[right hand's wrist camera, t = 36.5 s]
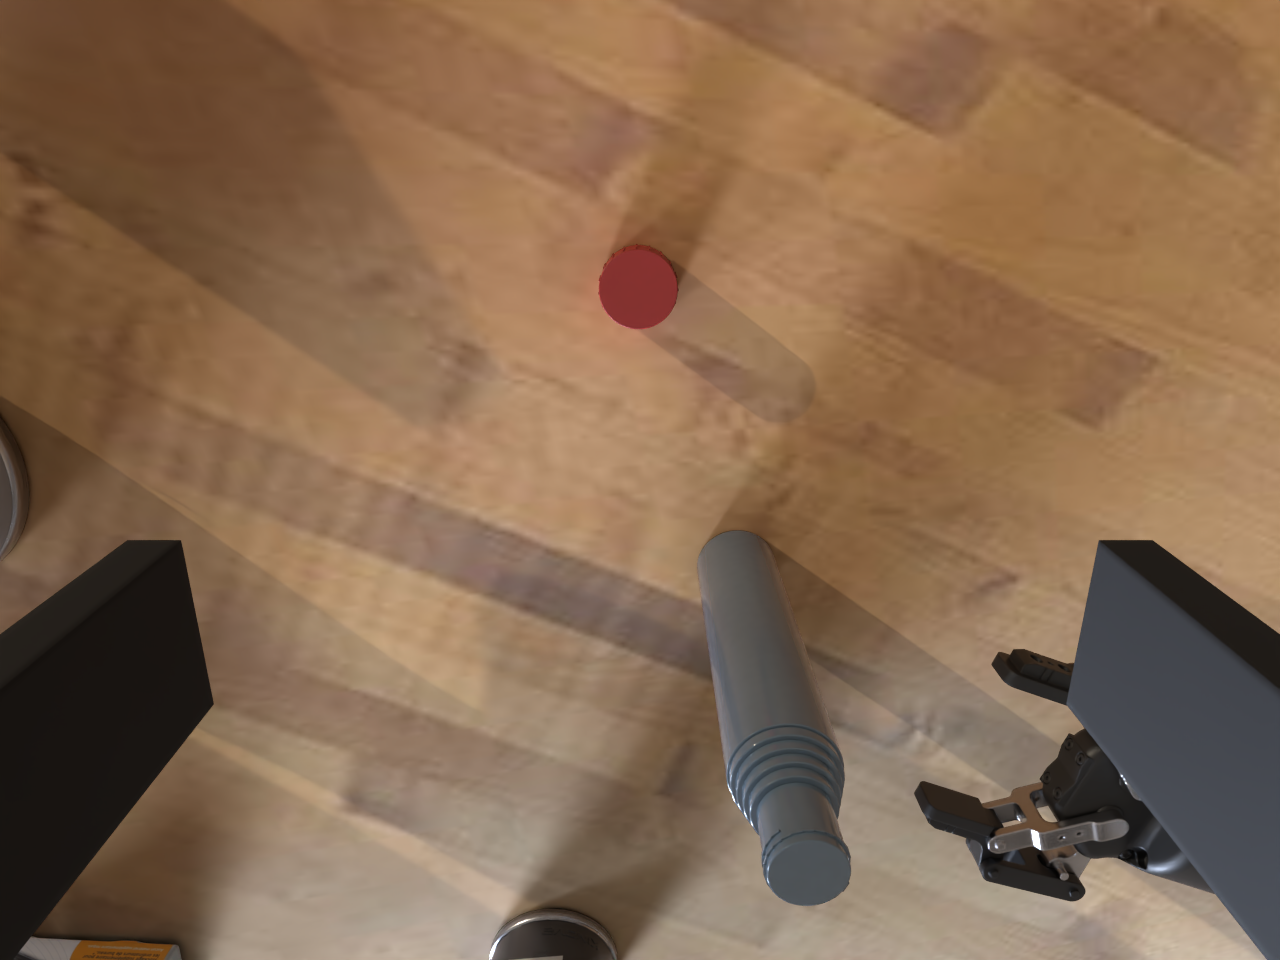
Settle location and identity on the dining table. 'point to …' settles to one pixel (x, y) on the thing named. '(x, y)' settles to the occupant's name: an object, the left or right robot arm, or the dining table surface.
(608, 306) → the cap
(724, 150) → the dining table surface
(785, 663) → the bottle
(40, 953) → the hard drive box
